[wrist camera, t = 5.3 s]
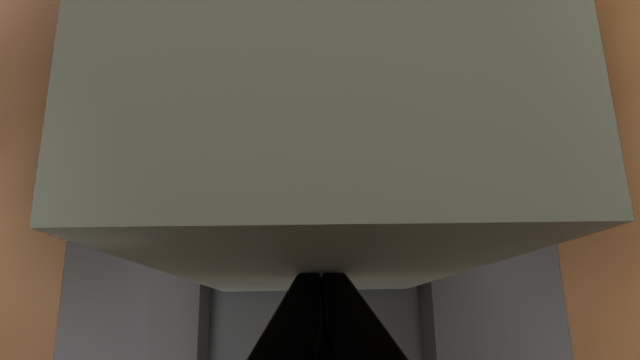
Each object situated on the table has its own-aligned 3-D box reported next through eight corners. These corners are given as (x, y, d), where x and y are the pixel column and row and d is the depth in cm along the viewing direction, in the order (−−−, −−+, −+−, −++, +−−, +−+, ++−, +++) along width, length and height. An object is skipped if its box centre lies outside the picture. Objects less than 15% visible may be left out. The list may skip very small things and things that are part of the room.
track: (572, 554, 14) (763, 722, 8) (55, 570, 13) (-134, 760, 8) (506, 35, 18) (600, -97, 12) (111, 35, 18) (16, -102, 12)
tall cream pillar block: (406, 288, 14) (634, 220, 4) (223, 291, 14) (28, 226, 4) (396, 118, 15) (552, -227, 6) (229, 119, 15) (92, -235, 5)
